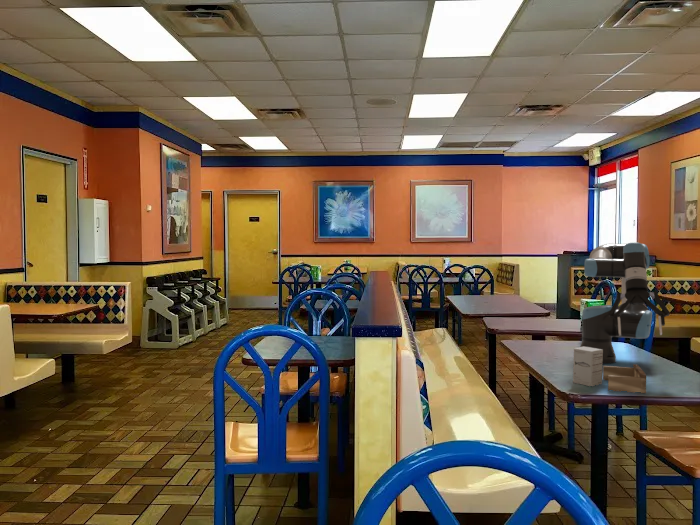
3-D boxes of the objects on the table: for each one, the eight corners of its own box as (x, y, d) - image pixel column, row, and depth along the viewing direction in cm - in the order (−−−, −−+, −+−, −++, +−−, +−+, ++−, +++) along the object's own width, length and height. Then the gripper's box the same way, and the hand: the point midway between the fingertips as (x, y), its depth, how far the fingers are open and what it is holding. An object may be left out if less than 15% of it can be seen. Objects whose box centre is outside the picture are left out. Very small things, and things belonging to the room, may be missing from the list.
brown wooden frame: (603, 379, 213) (603, 362, 213) (637, 381, 210) (637, 364, 209) (608, 390, 197) (608, 372, 197) (645, 393, 194) (646, 374, 193)
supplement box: (572, 383, 208) (572, 348, 207) (583, 380, 212) (584, 345, 212) (591, 387, 202) (591, 351, 201) (602, 384, 206) (603, 348, 206)
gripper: (599, 279, 224) (602, 331, 216) (673, 275, 213) (679, 330, 205) (601, 286, 230) (604, 337, 222) (673, 283, 219) (678, 336, 211)
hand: (640, 334), depth 213 cm, fingers open, 13 cm apart
